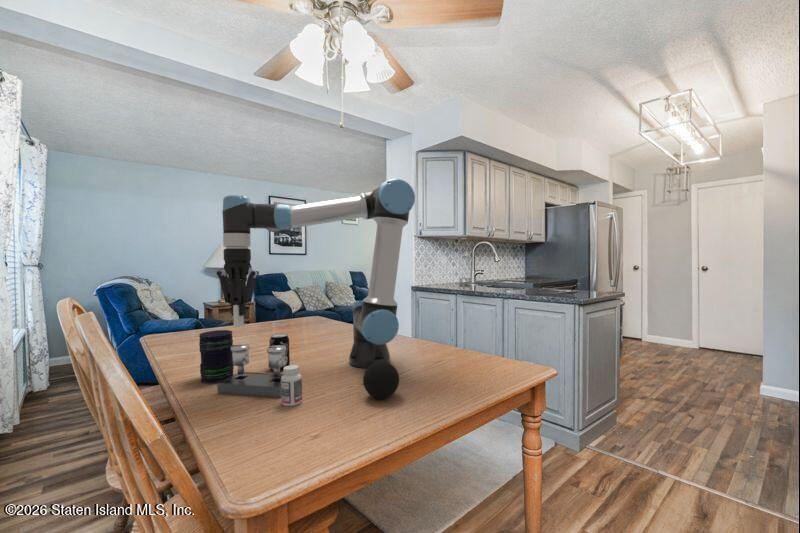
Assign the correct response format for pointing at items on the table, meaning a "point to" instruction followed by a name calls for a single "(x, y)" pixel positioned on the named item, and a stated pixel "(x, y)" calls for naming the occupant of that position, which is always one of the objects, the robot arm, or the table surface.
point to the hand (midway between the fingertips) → (238, 326)
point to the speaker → (381, 379)
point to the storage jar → (216, 356)
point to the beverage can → (281, 340)
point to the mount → (252, 384)
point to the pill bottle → (291, 386)
